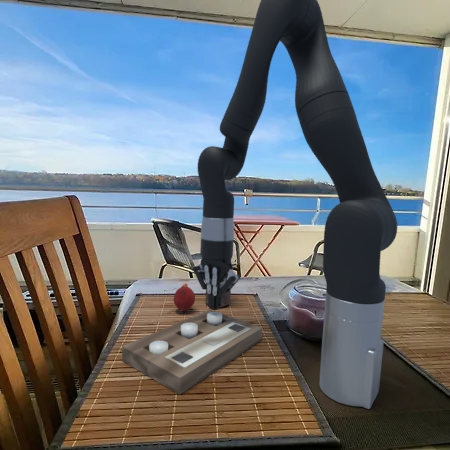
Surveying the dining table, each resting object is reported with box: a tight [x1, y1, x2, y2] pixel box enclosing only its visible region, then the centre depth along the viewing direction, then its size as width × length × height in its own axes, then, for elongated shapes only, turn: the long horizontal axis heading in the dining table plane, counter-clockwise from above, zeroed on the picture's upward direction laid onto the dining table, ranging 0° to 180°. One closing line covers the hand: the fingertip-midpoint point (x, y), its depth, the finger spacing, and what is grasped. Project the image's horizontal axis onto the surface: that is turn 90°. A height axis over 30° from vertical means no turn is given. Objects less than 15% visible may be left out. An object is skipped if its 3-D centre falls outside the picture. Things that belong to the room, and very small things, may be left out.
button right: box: [207, 311, 223, 326], centre depth 77 cm, size 4×4×2 cm
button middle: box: [181, 323, 198, 339], centre depth 71 cm, size 4×4×2 cm
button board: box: [121, 309, 263, 395], centre depth 69 cm, size 16×26×3 cm, turn 142°
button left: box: [149, 341, 168, 355], centre depth 64 cm, size 4×4×2 cm
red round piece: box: [173, 282, 196, 313], centre depth 90 cm, size 6×6×8 cm
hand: (214, 308), depth 77 cm, fingers closed
